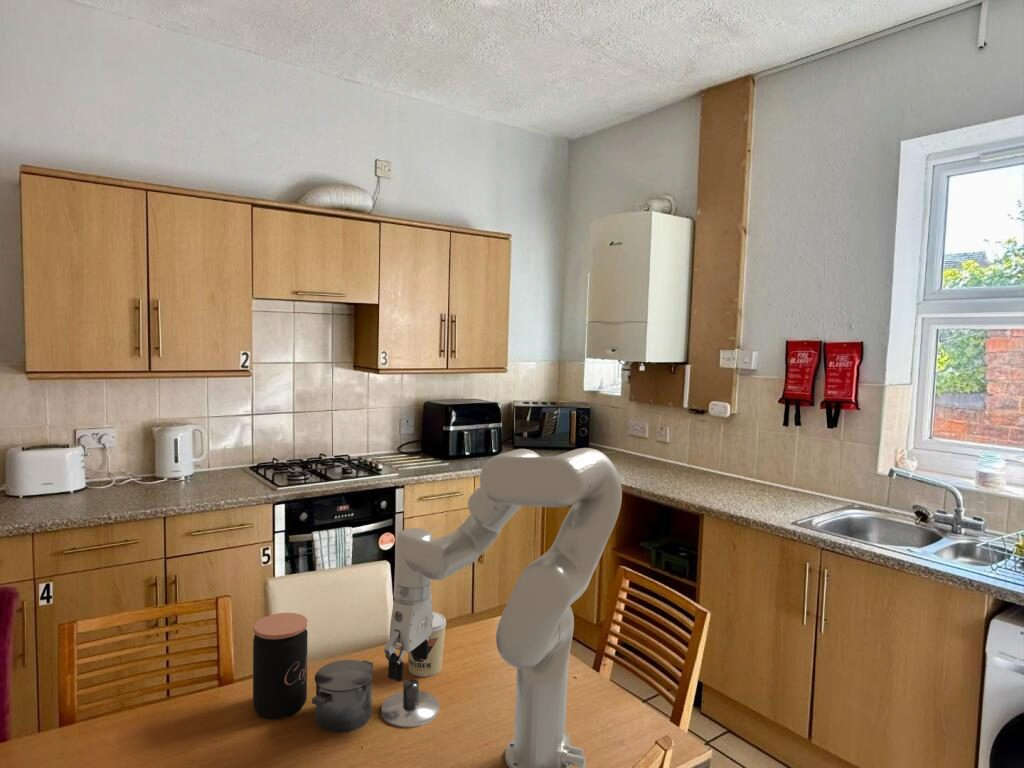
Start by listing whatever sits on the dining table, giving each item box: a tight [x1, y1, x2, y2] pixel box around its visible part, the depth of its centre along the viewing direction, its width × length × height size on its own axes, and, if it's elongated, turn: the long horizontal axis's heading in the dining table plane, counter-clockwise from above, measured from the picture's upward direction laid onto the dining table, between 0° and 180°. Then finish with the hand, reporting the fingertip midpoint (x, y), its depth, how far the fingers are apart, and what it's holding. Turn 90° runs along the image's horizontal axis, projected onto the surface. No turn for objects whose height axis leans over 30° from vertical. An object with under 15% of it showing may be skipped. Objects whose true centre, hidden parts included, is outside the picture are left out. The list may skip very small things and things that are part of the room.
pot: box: [311, 659, 374, 734], centre depth 131 cm, size 12×17×9 cm
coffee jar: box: [252, 612, 308, 721], centre depth 134 cm, size 11×11×18 cm
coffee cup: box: [407, 611, 447, 678], centre depth 151 cm, size 9×9×12 cm
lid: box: [381, 678, 440, 728], centre depth 134 cm, size 12×12×6 cm
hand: (408, 668), depth 134 cm, fingers open, 9 cm apart
